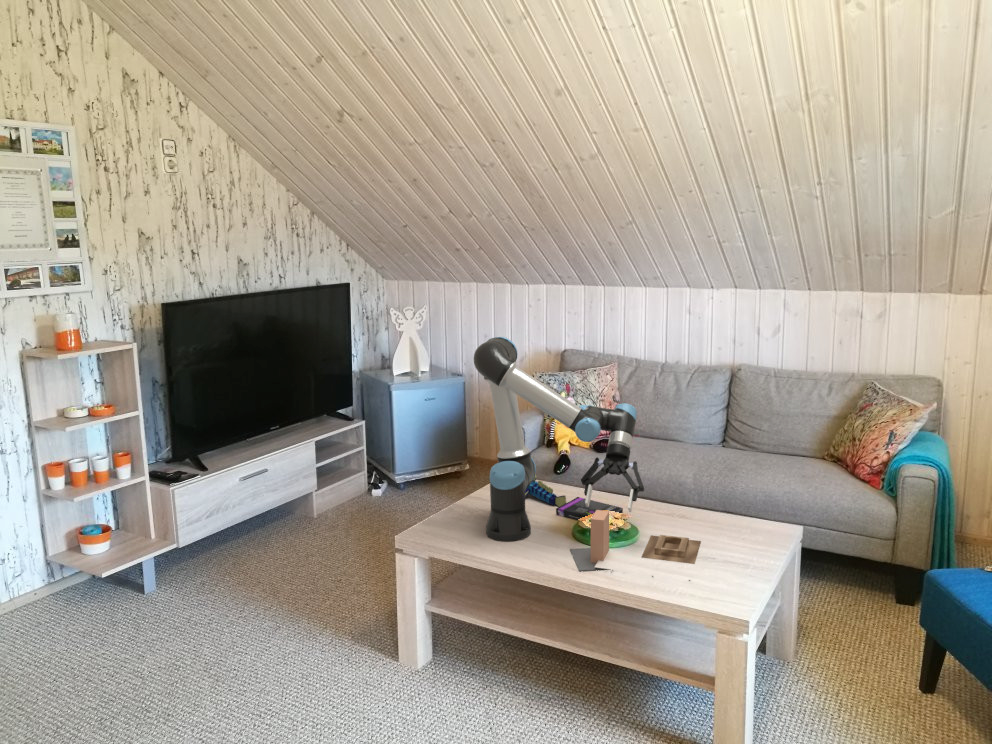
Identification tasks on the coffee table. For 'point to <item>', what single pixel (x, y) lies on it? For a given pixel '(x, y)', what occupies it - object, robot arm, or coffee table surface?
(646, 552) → the slot holder
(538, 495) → the toy
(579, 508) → the box
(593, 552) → the brown rectangular block
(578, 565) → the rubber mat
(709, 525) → the coffee table surface
